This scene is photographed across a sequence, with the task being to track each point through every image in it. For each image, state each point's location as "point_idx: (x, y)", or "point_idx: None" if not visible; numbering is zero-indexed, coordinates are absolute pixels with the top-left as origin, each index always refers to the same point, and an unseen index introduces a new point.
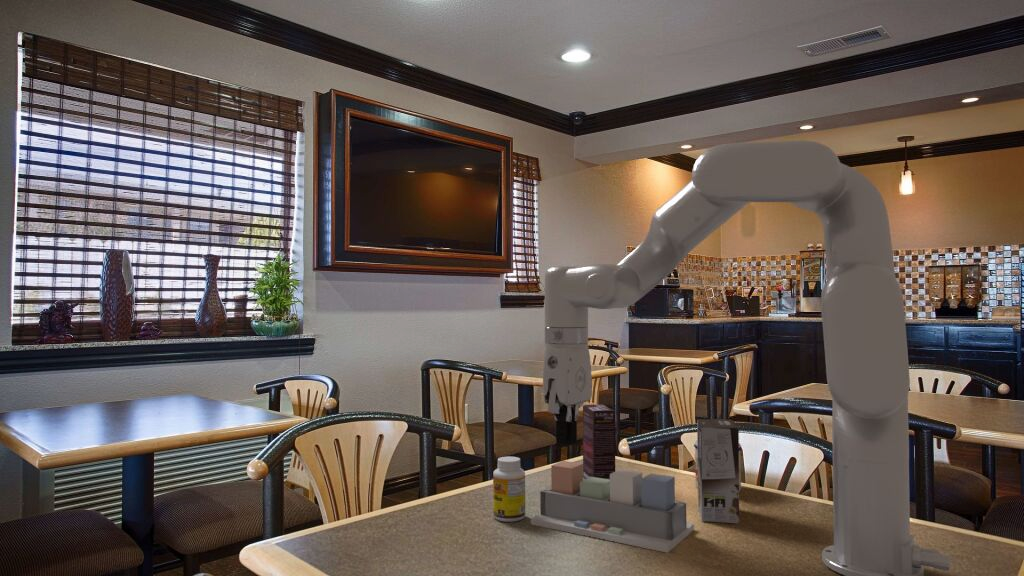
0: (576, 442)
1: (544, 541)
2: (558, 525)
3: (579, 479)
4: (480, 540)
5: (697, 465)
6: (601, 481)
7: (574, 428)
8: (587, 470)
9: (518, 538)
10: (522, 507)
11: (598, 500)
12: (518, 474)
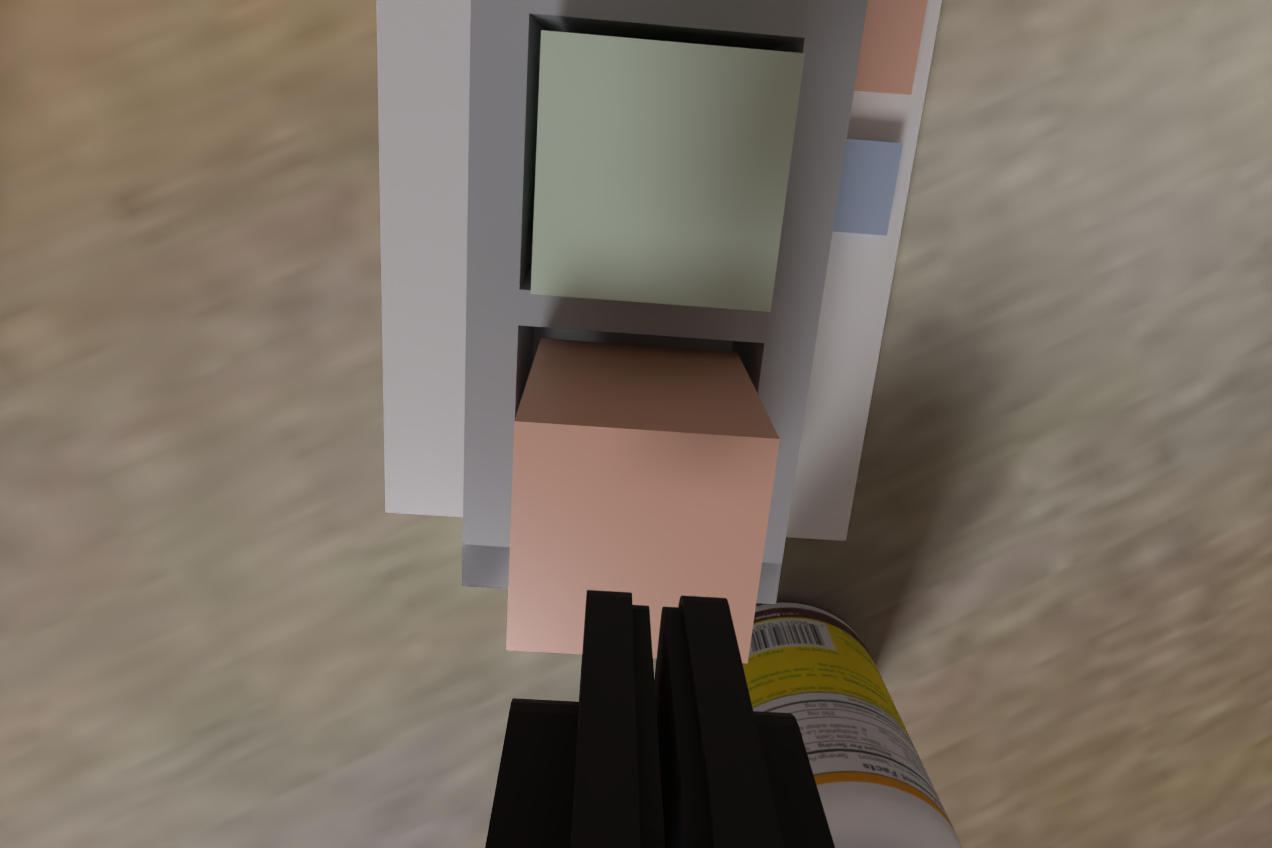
0: (589, 591)
1: (1090, 324)
2: (876, 342)
3: (601, 379)
4: (1183, 630)
5: None
6: (655, 115)
7: (649, 753)
8: None
9: (1089, 477)
10: (806, 639)
11: (832, 71)
12: (907, 816)
